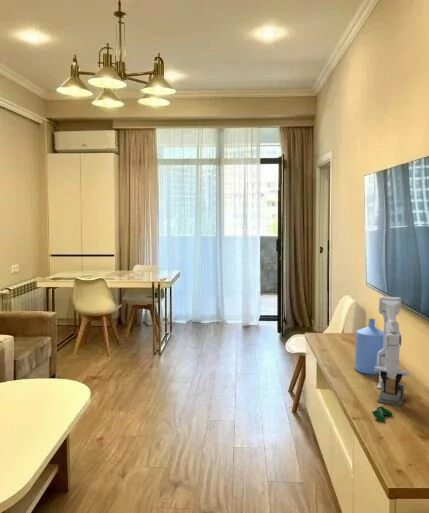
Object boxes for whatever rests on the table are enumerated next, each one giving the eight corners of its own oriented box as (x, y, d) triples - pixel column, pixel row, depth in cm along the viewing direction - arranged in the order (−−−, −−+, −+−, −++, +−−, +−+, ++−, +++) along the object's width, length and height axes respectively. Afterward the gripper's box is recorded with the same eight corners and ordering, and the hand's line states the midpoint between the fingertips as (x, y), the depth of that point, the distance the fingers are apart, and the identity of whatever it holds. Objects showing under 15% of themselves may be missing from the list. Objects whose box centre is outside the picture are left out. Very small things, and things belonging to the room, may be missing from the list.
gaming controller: (387, 418, 212) (378, 406, 214) (394, 414, 210) (384, 401, 212) (378, 425, 205) (369, 412, 207) (385, 421, 203) (375, 408, 205)
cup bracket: (381, 393, 236) (381, 380, 236) (403, 397, 232) (404, 384, 231) (376, 401, 226) (377, 388, 225) (400, 405, 221) (401, 392, 221)
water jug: (388, 375, 263) (391, 322, 260) (358, 374, 263) (361, 322, 261) (379, 366, 278) (382, 316, 276) (351, 365, 279) (353, 315, 276)
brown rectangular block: (386, 393, 231) (387, 376, 230) (395, 395, 229) (396, 378, 228) (385, 396, 227) (385, 379, 226) (394, 398, 225) (395, 380, 224)
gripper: (374, 359, 226) (372, 389, 227) (408, 364, 219) (406, 394, 221) (376, 355, 232) (375, 384, 233) (410, 360, 226) (408, 389, 227)
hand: (390, 389), depth 227 cm, fingers closed on brown rectangular block, 4 cm apart
